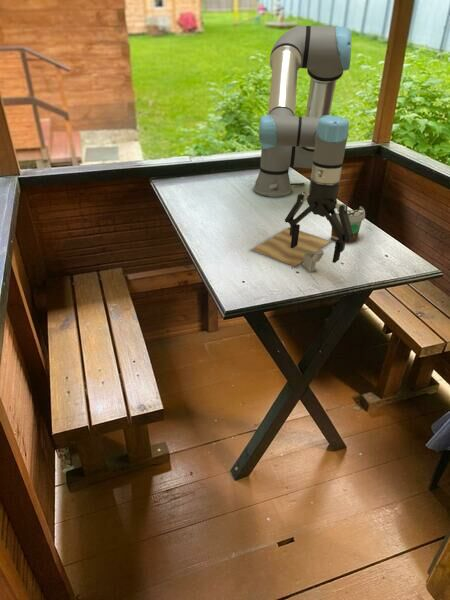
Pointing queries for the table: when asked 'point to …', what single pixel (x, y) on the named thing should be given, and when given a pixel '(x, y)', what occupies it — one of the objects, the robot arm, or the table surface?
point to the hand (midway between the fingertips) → (314, 253)
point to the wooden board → (282, 242)
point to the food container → (352, 223)
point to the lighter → (312, 259)
